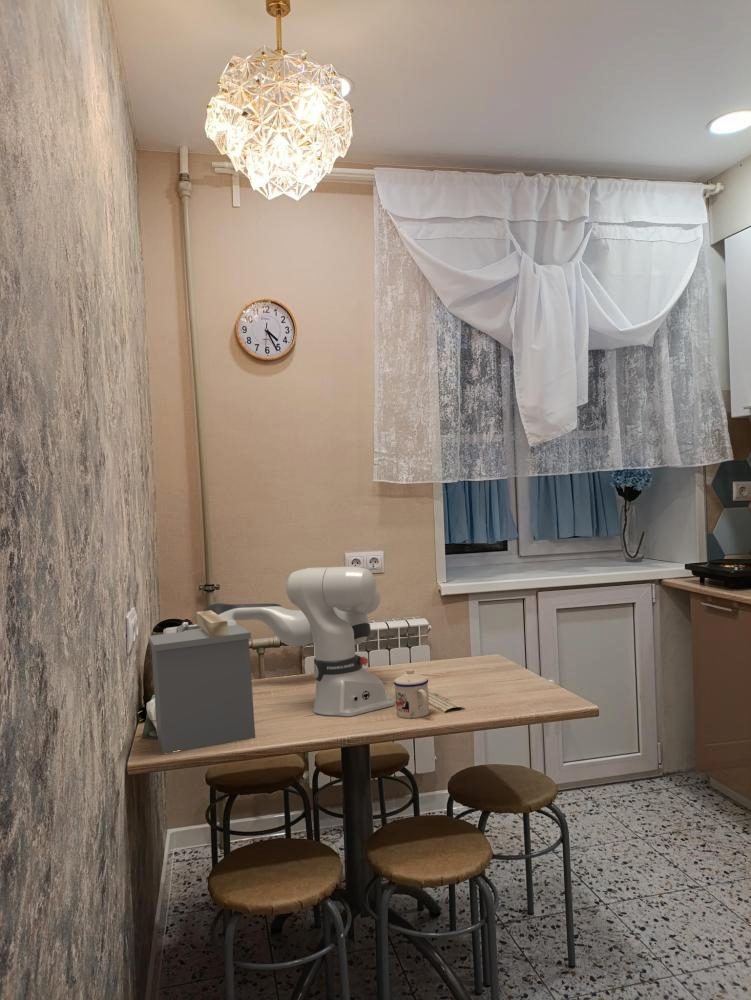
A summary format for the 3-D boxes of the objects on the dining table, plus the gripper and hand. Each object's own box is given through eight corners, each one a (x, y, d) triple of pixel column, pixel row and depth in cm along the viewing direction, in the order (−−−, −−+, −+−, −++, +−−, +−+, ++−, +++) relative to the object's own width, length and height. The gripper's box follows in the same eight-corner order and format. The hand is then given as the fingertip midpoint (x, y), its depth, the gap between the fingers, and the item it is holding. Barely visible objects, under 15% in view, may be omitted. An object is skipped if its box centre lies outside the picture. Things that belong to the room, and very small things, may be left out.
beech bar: (212, 623, 201) (211, 610, 202) (228, 635, 179) (227, 621, 179) (197, 624, 200) (196, 612, 200) (211, 637, 178) (210, 623, 178)
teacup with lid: (389, 713, 194) (386, 669, 194) (419, 706, 199) (416, 663, 199) (412, 723, 184) (409, 677, 184) (443, 716, 188) (439, 671, 188)
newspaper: (409, 695, 213) (409, 689, 213) (432, 692, 216) (431, 685, 216) (444, 715, 191) (444, 708, 191) (468, 711, 194) (468, 704, 194)
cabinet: (245, 722, 195) (238, 624, 195) (257, 737, 181) (250, 632, 181) (155, 738, 186) (148, 636, 187) (161, 755, 173) (153, 645, 173)
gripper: (236, 646, 214) (243, 628, 203) (163, 656, 206) (166, 638, 195) (232, 626, 217) (239, 607, 206) (160, 635, 209) (163, 616, 198)
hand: (203, 622), depth 200 cm, fingers open, 8 cm apart
